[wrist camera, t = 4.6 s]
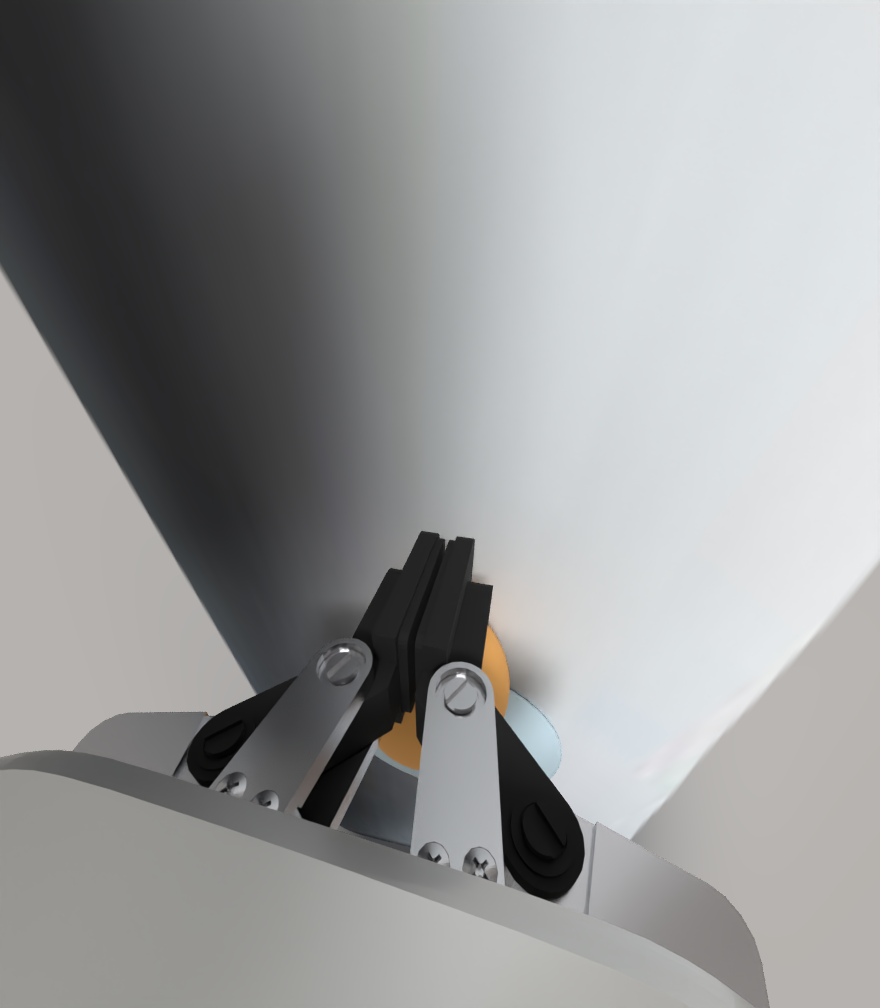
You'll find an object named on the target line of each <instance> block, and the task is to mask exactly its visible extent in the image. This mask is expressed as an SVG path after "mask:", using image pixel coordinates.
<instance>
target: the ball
mask: <svg viewBox="0 0 880 1008" xmlns="http://www.w3.org/2000/svg"><path fill="white" fill-rule="evenodd" d="M482 671H483V672H484V673H485V674H486V675H487V676H488V678H489V680H490V682H491V684H492V687H493V692H494V703H495V707H496V708H497V710H498V711H499V712H500V714H501V715H502V716H503V718H504V716H505V713H506V709H507V706H508V699H509V692H510V678H509V670H508V664H507V660H506V656H505V654H504V651H503V648H502V646H501V644H500V642H499V640H498V638H497V637H496V635H495V633H494V632H493V631H492V629H491V628H490V627H489V626H488V627H487V635H486V642H485V649H484V656H483V663H482ZM378 747H379V748H380V749H381V750H382V751H383V752H384V753H385V754H386V755H387V756H389V757H390V758H391V759H393V760H394V761H396V762H398V763H400V764H401V765H404V766H406V767H409V768H412V769H415V770H419V768H420V759H421V750H422V746H421V744H420V742H419V740H418V739H417V737H416V711H415V704H414V707H413V710H412V712H411V713H409V712H405V714H404V717H403V720H402V723H401V724H399V723H396V722H395V723H394V726H393V729H392V730H391V731H390V732H388V733H386V734H385V735H383V736H382V737H381V740H380V743H379V746H378Z"/></svg>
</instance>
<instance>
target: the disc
mask: <svg viewBox="0 0 880 1008" xmlns="http://www.w3.org/2000/svg"><path fill="white" fill-rule="evenodd" d="M504 719H505V720H506V722H507V723H508V724H509V726H510V727H511V728H512V730H513V731H514V732H515V734H516V735H517V736H518V738H519V739H520V740H521V742H522V743H523V744H524V746H525V747H526V748H527V750H528V751H529V752H530V754H531V755H532V756H533V758H534V759H535V760H536V762H537V763H538V764H539V766H540V767H541V768H542V770H543V771H544V772H545V774H546V775H547V776H548V778H549V779H550V778H551V777H552V776H553V775H554V774H555V773H556V771H557V770H558V768H559V766H560V762H561V745H560V741H559V737H558V735H557V733H556V731H555V729H554V728H553V726H552V725H551V724H550V722H549V721H548V719H547V718H546V717H545V716H544V715H543V714H542V713H541V712H540V711H539V710H538V709H537V708H536V707H534V706H533V705H532V704H531V703H530V702H528V701H527V700H526V699H524V698H523V697H521V696H520V695H518V694H517V693H515V692H514V691H512V690H510V692H509V699H508V706H507V709H506V713H505V716H504ZM374 755H375V756H377V757H378V758H380V759H381V760H383V761H385V762H386V763H388V764H390V765H391V766H393V767H395V768H397V769H399V770H401V771H403V772H405V773H408V774H410V775H412V776H415V777H417V778H418V777H419V770H415V769H412V768H409V767H406V766H404V765H401V764H400V763H398V762H396V761H394V760H393V759H391V758H390V757H389V756H387V755H386V754H385V753H384V752H383V751H382V750H381V749H380V748H379V747H378V748H377V750H376V752H375V754H374Z"/></svg>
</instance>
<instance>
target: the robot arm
mask: <svg viewBox="0 0 880 1008" xmlns="http://www.w3.org/2000/svg"><path fill="white" fill-rule="evenodd" d="M474 543H475V539H472V538H465V537H458V536H457V537H456V540H455V541H453V540H449V542H448V545H447V548H446V551H445V539H440V538H439V534H438V533H431V532H425V531H421V532H420V534H419V536H418V538H417V540H416V543H415V545H414V547H413V549H412V551H411V553H410V555H409V557H408V559H407V561H406V563H405V565H404V568H403V570H399V569H393V568H391V569H389V570H388V572H387V573H386V575H385V577H384V579H383V581H382V583H381V585H380V586H379V588H378V590H377V592H376V594H375V596H374V598H373V600H372V602H371V603H370V605H369V607H368V609H367V611H366V613H365V615H364V617H363V619H362V620H361V622H360V624H359V626H358V628H357V630H356V632H355V634H354V635H353V637H352V638H340V639H337V640H334V641H331V642H330V643H328V644H326V645H325V646H323V647H322V648H321V649H320V650H319V651H318V652H317V653H316V654H315V655H314V657H313V658H312V659H311V660H310V662H309V663H308V664H307V665H306V667H305V668H304V669H303V670H302V672H301V673H300V674H299V675H298V676H296V677H294V678H292V679H290V680H288V681H285V682H283V683H281V684H279V685H277V686H275V687H273V688H271V689H268V690H266V691H264V692H262V693H260V694H258V695H256V696H254V697H252V698H249V699H247V700H245V701H243V702H241V703H239V704H237V705H235V706H232V707H230V708H228V709H226V710H224V711H222V712H221V713H219V714H217V715H216V716H209V715H208V714H207V712H154V713H153V712H152V713H151V712H150V713H125V714H119V715H116V716H114V717H112V718H109V719H107V720H105V721H103V722H102V723H100V724H99V725H98V726H96V727H95V728H94V729H92V730H91V731H90V732H89V733H88V734H87V735H86V736H85V737H84V738H83V739H82V740H81V741H80V742H79V743H78V745H77V746H76V747H75V749H74V750H73V751H62V750H53V751H52V750H44V751H35V752H26V753H19V754H14V755H10V756H5V757H1V758H0V1008H770V1007H769V1001H768V995H767V990H766V984H765V978H764V972H763V967H762V962H761V959H760V956H759V952H758V949H757V946H756V943H755V939H754V937H753V936H752V934H751V932H750V930H749V928H748V927H747V925H746V923H745V921H744V919H743V918H742V916H741V915H740V914H739V912H738V911H737V910H736V909H735V908H734V906H733V905H732V904H731V903H730V902H729V900H727V898H726V897H725V896H724V895H723V894H721V893H720V892H719V891H717V890H716V889H715V888H713V887H712V886H710V885H709V884H708V883H706V882H704V881H703V880H701V879H699V878H697V877H695V876H693V875H692V874H690V873H688V872H686V871H684V870H683V869H681V868H679V867H677V866H676V865H674V864H672V863H670V862H668V861H667V860H665V859H663V858H661V857H659V856H657V855H656V854H654V853H652V852H650V851H649V850H647V849H645V848H643V847H641V846H640V845H638V844H636V843H634V842H632V841H631V840H629V839H627V838H625V837H624V836H622V835H620V834H618V833H616V832H615V831H613V830H611V829H609V828H607V827H606V826H604V825H602V824H600V823H598V822H597V823H596V824H595V825H594V824H592V823H590V822H588V821H586V820H585V819H583V818H581V817H579V816H578V815H576V814H574V813H573V811H572V809H571V808H570V806H569V805H568V803H567V802H566V801H565V799H564V798H563V797H562V795H561V794H560V792H559V791H558V790H557V788H556V787H555V786H554V784H553V783H552V782H551V780H550V779H549V778H548V776H547V775H546V774H545V772H544V771H543V770H542V768H541V767H540V766H539V764H538V763H537V762H536V760H535V759H534V758H533V756H532V755H531V754H530V752H529V751H528V750H527V748H526V747H525V746H524V744H523V743H522V742H521V740H520V739H519V738H518V736H517V735H516V734H515V732H514V731H513V730H512V728H511V727H510V726H509V724H508V723H507V722H506V720H505V719H504V718H503V716H502V715H501V714H500V712H499V711H498V710H497V708H496V707H495V703H494V692H493V687H492V684H491V682H490V680H489V678H488V676H487V675H486V674H485V673H484V672H483V671H482V663H483V656H484V649H485V642H486V635H487V627H488V620H489V613H490V605H491V597H492V589H493V586H491V585H486V584H480V583H474V582H471V578H472V567H473V555H474ZM414 704H415V711H416V737H417V739H418V740H419V742H420V744H421V746H422V750H421V759H420V768H419V777H418V786H417V795H416V804H415V814H414V823H413V832H412V841H411V851H410V854H408V853H405V852H402V851H399V850H396V849H393V848H390V847H387V846H384V845H381V844H378V843H374V842H372V841H368V840H365V839H362V838H359V837H356V836H353V835H350V834H347V833H344V832H341V831H338V830H337V829H338V827H339V825H340V823H341V821H342V819H343V817H344V815H345V813H346V811H347V809H348V807H349V805H350V803H351V800H352V798H353V796H354V794H355V792H356V790H357V788H358V786H359V784H360V782H361V780H362V778H363V776H364V774H365V772H366V770H367V768H368V766H369V764H370V762H371V760H372V758H373V756H374V754H375V752H376V750H377V748H378V746H379V743H380V740H381V737H382V736H383V735H385V734H386V733H388V732H390V731H391V730H392V729H393V726H394V723H395V722H396V723H399V724H401V723H402V720H403V717H404V714H405V712H409V713H411V712H412V710H413V707H414Z"/></svg>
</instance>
